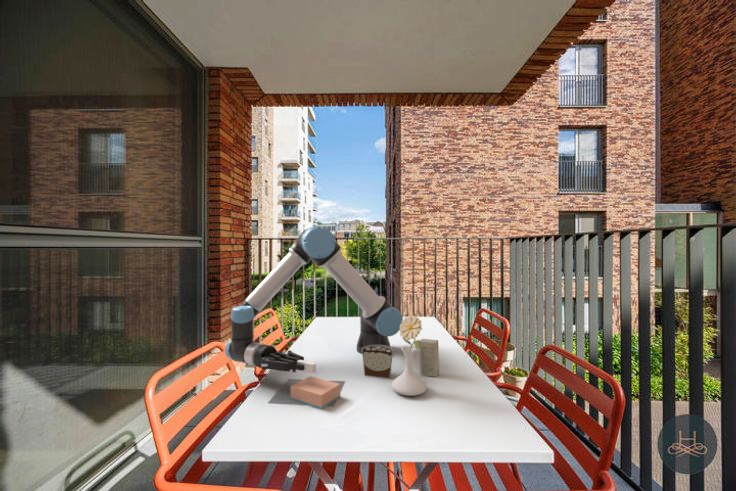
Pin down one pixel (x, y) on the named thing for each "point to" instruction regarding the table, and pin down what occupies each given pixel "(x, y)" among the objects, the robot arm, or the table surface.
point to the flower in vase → (409, 360)
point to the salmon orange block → (315, 392)
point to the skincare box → (429, 357)
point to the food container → (377, 360)
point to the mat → (285, 393)
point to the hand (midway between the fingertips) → (314, 368)
